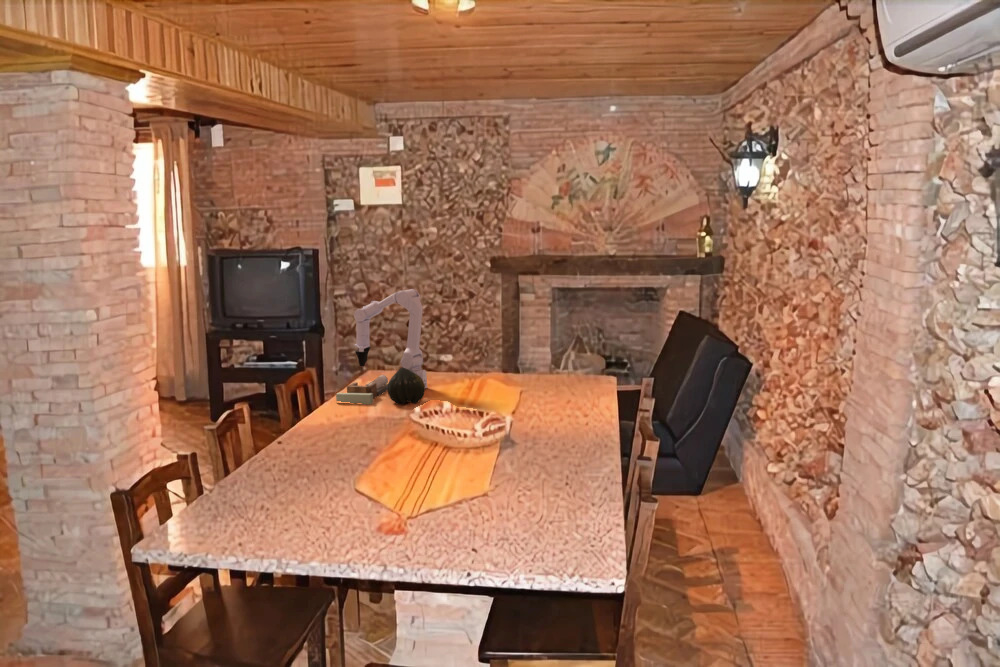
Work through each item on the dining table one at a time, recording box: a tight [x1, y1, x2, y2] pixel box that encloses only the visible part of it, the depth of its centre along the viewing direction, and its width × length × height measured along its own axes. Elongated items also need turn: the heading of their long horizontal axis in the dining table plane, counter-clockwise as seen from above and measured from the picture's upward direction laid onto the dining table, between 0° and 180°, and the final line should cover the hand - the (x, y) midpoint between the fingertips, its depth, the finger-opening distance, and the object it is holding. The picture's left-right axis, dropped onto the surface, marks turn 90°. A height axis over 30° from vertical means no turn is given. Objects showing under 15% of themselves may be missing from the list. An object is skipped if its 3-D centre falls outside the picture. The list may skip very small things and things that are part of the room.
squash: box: [387, 366, 426, 405], centre depth 314 cm, size 14×15×15 cm
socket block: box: [346, 382, 378, 400], centre depth 323 cm, size 10×8×6 cm
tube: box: [366, 374, 389, 390], centre depth 340 cm, size 5×5×25 cm
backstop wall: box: [335, 392, 374, 405], centre depth 315 cm, size 15×2×4 cm, turn 78°
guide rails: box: [364, 380, 388, 397], centre depth 340 cm, size 10×24×2 cm, turn 168°
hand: (363, 364), depth 349 cm, fingers open, 7 cm apart
